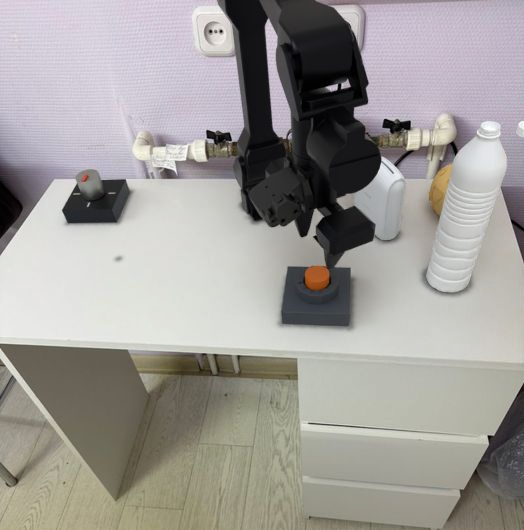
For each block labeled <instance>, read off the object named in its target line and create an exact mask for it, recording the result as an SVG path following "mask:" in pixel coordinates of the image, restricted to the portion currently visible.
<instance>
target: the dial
mask: <svg viewBox="0 0 524 530" xmlns="http://www.w3.org/2000/svg"><path fill="white" fill-rule="evenodd" d="M102 180H103V179H102V178H101V175H100V173H99V171H98V170H96V169H93V168H89V169H84V170H82V171H79V172H78V173H77V174H76V175H75V182H76V184H78V186H79V189H80V191H81V193H82V196H83V198H84V199H86V200H90V201H92V200H97V199H99V198H101V197H103V196H104V194H105V188H104V186H103V183H102Z"/></svg>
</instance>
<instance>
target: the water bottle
mask: <svg viewBox="0 0 524 530" xmlns="http://www.w3.org/2000/svg"><path fill="white" fill-rule="evenodd" d="M501 127H502V126H501V124H500V123H499V122H497V121H493V120H486V121H483V122H482V123H481V124H480V125H479V128H478V129H477V130H476V135H475V136H474V137H473V138H472V139H470V140H469V141H468V142H467V143H466V144H464V145H463V147H462V148H460V149H459V150H458V152H457V153H456V155H455V156H454V158H453V161H452V163H453V164H452V168H451V174H450V178H449V183H448V187H447V191H446V195H445V199H444V204H443V208H442V211H441V215H440V216H439V220H438V224H437V228H436V234H435V237H434V242H433V245H432V250H431V253H430V258H429V263H428V266H427V269H426V275H425V278H426V280H427V283H428V284H429V286H430V287H432V288H433V289H436V290H437V291H439V292H441V293H451V294H452V293H459V292H460V291H463V290H465V289H466V288H467V286H468V285H469V283H470V281H471V278H472V275H473V270H474V268H475V265H476V262H477V259H478V257H479V253H480V250H481V248H482V245H483V241H484V238H485V234H486V231H487V229H488V226H489V223H490V219H491V216H492V215H493V214H492V213H493V209H494V208H495V205H496V202H497V198H498V195H499V193H500V190H501V187H502V183H503V180H504V178H505V175H506V173H507V169H508V157H507V154H506V152H505V149H504V146H503V145H502V142H501V140H500V137H501V135H502V132H501ZM515 134H516V135H517V136H518V137H520V138H523V139H524V120H522V121H520V122H518V124H517V126H516V129H515Z"/></svg>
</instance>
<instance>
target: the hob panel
mask: <svg viewBox="0 0 524 530" xmlns="http://www.w3.org/2000/svg"><path fill="white" fill-rule="evenodd" d="M101 180H102V183H103V186H104V188H105V194H104V196H103V197H101V198H99V199H97V200H92V201H90V200H86V199H84V198H83V196H82V193H81V191H80V189H79V186H78V184H77V183H75V186H74V187H73V189H72V191H71V193H70V194H69V196H68V199H67V200H66V202H65V203H64V205H63V207H62V209H61V212H62V214H63V216H64V218H65V221H66V222H67V224H100V223H101V224H103V223H104V224H105V223H107V224H109V223H118V221H119V218H120V216H121V214H122V212H123V209H124V207H125V205H126V202H127V200H128V198H129V195H130V193H131V191H130V188H129V184H128V182H127V179H126V178H111V179H110V178H109V179H101Z"/></svg>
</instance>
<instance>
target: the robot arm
mask: <svg viewBox="0 0 524 530" xmlns="http://www.w3.org/2000/svg"><path fill="white" fill-rule="evenodd" d="M216 2H217V5H218V7H219V9H221V11H222V12H223V14H224V16H225V17H226V19H227V20H228V22H229V23H230V24H231V28H232V29H231V30H232V37H233V45H234V52H235V61H236V71H237V77H238V86H239V93H240V94H239V95H240V101H241V109H242V110H241V111H242V118H243V129H242V130H241V133H240V135H239V137H238V139H237V141H236V146H237V147H236V148H237V156H236V157H235V159H234V162H233V165H232V169H233V174H234V178H235V180H236V182H237V184H238V186H239V188H240V189H239V190H240V197H241V206H242V208H243V210H244V211H245V213H246V214H247V215H249V216H250V217H251V219H252V220H253V221H254V222H257V221H260V220H263V221H264V222H265V224H266V225H267V226H268V227H269V228H277V227H279V226H280V227H287V226H289V224H291V223H293V222H294V225H295V226H296V230H297V232H298V233H297V234H298V235H299V237H300V238H301V239H302V238H305V237H307V236H308V235H309V232H310V228H311V226H312V221H313V217H314V213H315V210H317V211H318V212H319V213H320V215H322V217H321V219H320V220H319V221H318V222H317V224H316V225H315V235H313V236H312V238H313V239H314V240H315V242H316V243H317V244H318V245H319V246H320V247H321V248H322V250H323V257H324V264H325V266H326V268H327V269H331V268H333V267H336V265H337V264H338V263H339V261H340V260H341V258H342V257H343V256H344V254H345V253H346V252H348V251H351V250H353V249H356V248H358V247H361V246H363V245H366V244H368V243H372V242H373V241H374V240H375V237H376V235H375V227H376V224H375V223H374V222H373V221H372V220H371V219H370V218H369V217H368V216H367V215H366V214H365V213H364V212H363V211H361V210H360V209H359V208H357V207H356V206H353V205H352V206H350V207H347V208H344V207H343V206H342V205H341V204H340V203H339V201H337V199H340V198H343V197H345V196H347V195H351V194H354V193H356V192H358V191H360V190H362V189H363V188H365V187H366V186H368V185H369V184H370V183H371V182H372V181H373V179H374V178H375V176H376V175H377V173H378V171H379V169H380V165H381V159H382V157H383V156H382V154H381V151H380V149H379V146H378V144H377V143H375V142H374V141H373V139H372V138H371V137H369V135H368V134H367V133H366V129H367V128H366V125H364V124H363V122H362V121H361V120H359V119H357V118H355V109H356V108H359V107H363V106H368V104H369V97H368V92H367V87H368V86H369V85H370V83H369V82H370V81H369V78H368V75H367V72H366V67H365V64H364V59H363V57H362V53H361V50H360V47H359V43H358V40H357V36H356V34H355V32H354V30H352V28H351V26H350V24H349V23H348V22H347V21H346V19H345V18H344V17H343V16H342V15H341V14H340V13H339V11H338V10H337V9H336V8H335V7H334V6H331V5H327V4H326V3H322V2H319V1H318V0H216ZM268 20H269V22H270V24H271V26H272V28H273V30H274V32H275V34H276V36H277V37H276V38H277V39H276V48H275V65H276V66H275V67H276V71H277V75H278V78H279V81H280V85H281V87H282V90H283V93H284V95H285V96H284V97H285V99H286V102H287V104H288V107H289V111H290V133H291V151H288V152H287V149H286V146H285V144H284V142H283V141H282V140H281V138H280V137H279V136H278V134H277V132H276V131H275V130H274V126H273V111H272V101H271V88H270V87H271V86H270V72H269V60H268V49H267V48H268V47H267V36H266V35H267V33H266V26H267V23H268ZM347 81H348V84H349V86H348V87H344V88H340V89H335V90H332V91H331V90H330V89H329V88H328V87H332V86H336V85H340V84H345V83H346V82H347ZM381 156H382V157H381Z"/></svg>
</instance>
